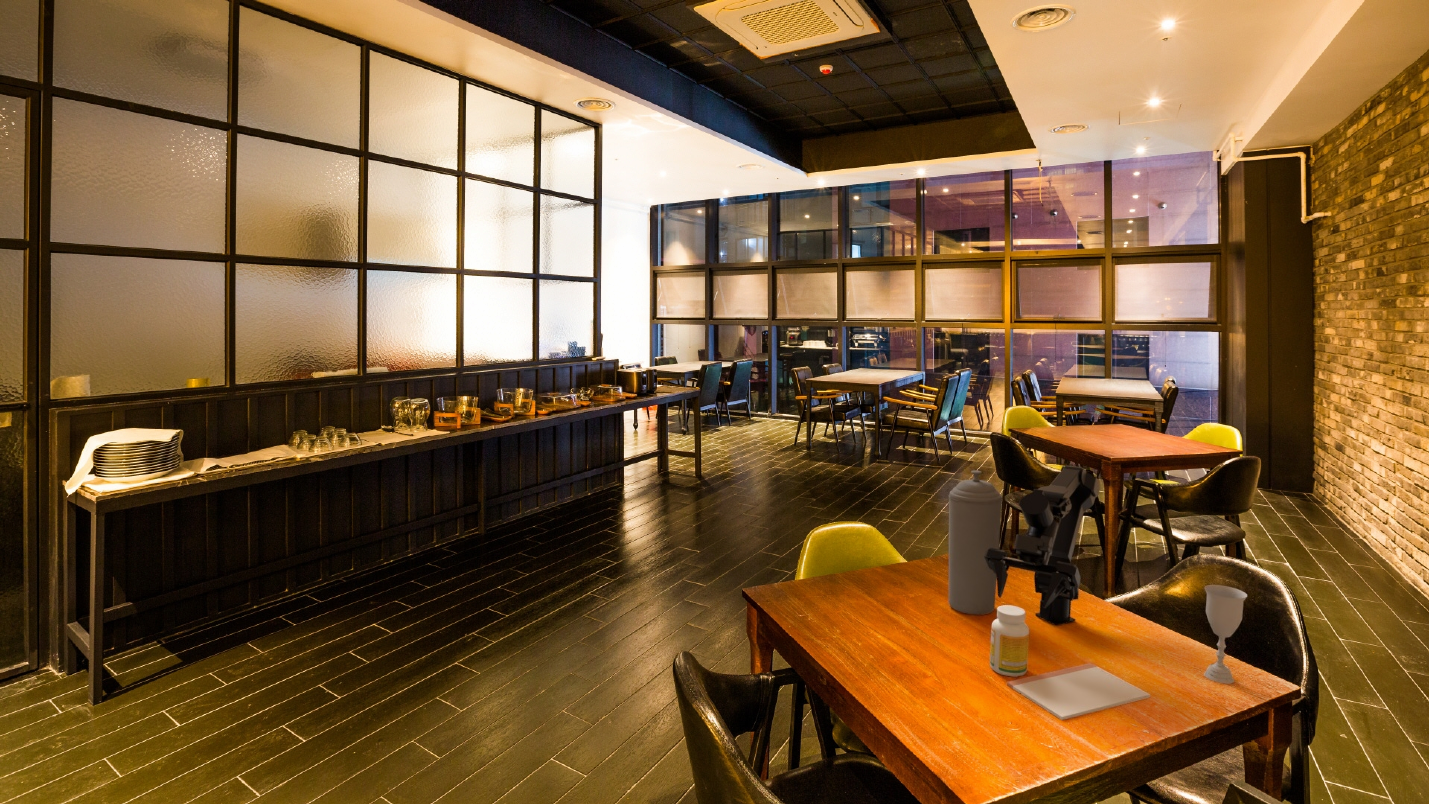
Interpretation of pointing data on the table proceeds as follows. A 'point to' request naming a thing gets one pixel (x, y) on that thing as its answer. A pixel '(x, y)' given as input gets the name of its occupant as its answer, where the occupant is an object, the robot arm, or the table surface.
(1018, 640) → the supplement bottle
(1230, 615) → the chalice
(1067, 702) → the notepad
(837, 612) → the table surface
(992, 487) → the canister
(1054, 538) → the robot arm
